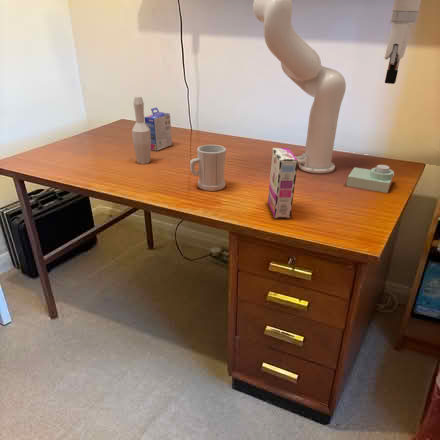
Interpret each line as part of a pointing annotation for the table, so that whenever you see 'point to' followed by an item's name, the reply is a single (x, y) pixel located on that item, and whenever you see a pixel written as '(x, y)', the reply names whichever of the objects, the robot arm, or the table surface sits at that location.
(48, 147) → the table surface
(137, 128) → the faceted bottle
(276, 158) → the candy bar box
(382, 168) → the grey push button
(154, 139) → the ink cartridge box
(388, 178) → the green push button box
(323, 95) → the robot arm
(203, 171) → the cup
